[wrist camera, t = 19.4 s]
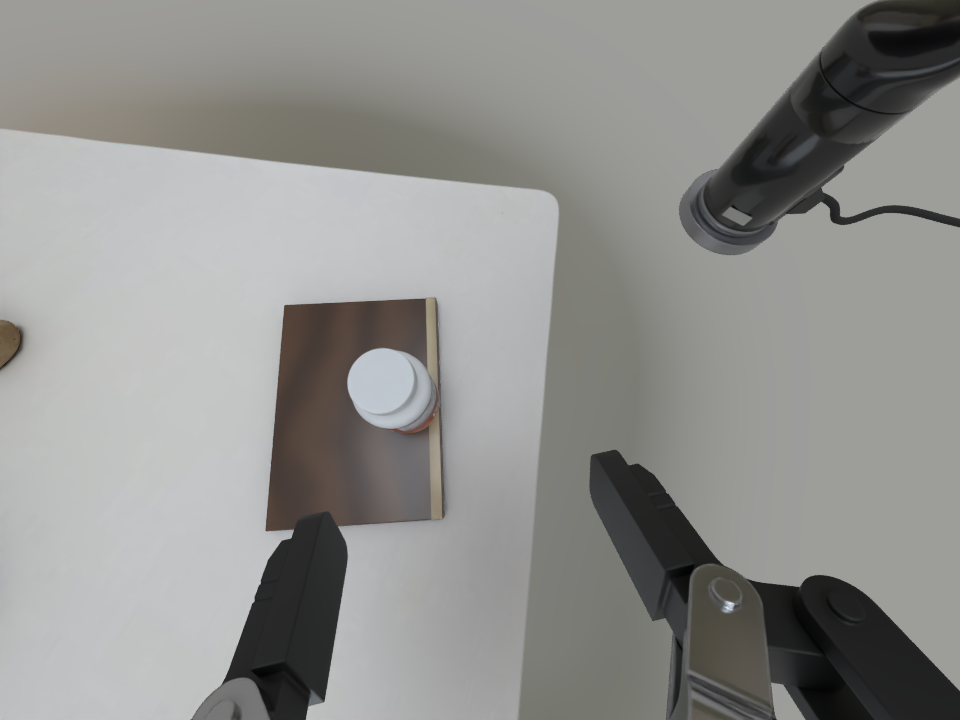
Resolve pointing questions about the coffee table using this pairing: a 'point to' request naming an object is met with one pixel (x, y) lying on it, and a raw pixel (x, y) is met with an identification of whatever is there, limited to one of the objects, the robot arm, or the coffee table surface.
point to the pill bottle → (393, 391)
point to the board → (351, 419)
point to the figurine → (8, 341)
